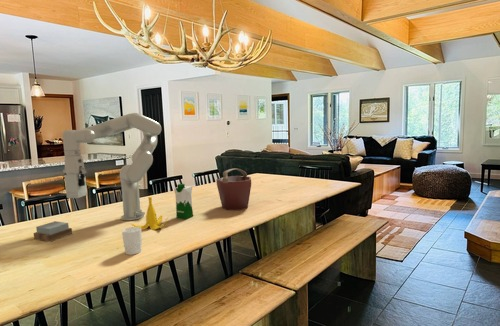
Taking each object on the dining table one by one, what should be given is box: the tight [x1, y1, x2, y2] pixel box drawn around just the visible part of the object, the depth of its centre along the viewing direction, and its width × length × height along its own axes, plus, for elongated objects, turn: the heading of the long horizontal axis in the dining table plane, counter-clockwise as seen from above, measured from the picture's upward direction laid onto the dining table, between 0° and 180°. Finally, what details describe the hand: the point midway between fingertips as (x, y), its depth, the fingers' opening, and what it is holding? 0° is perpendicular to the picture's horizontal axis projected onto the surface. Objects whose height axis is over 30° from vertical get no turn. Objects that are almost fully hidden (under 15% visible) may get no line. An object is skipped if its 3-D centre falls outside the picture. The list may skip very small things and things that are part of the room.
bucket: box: [216, 168, 252, 211], centre depth 217 cm, size 24×22×25 cm
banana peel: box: [130, 196, 164, 230], centre depth 179 cm, size 17×19×17 cm
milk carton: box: [173, 183, 194, 220], centre depth 196 cm, size 9×9×20 cm
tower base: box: [33, 227, 73, 243], centre depth 170 cm, size 12×12×3 cm
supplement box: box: [63, 174, 88, 199], centre depth 181 cm, size 7×7×13 cm
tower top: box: [35, 221, 70, 235], centre depth 169 cm, size 10×10×3 cm
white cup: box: [121, 226, 143, 256], centre depth 145 cm, size 8×8×10 cm
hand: (76, 185), depth 181 cm, fingers closed on supplement box, 8 cm apart
